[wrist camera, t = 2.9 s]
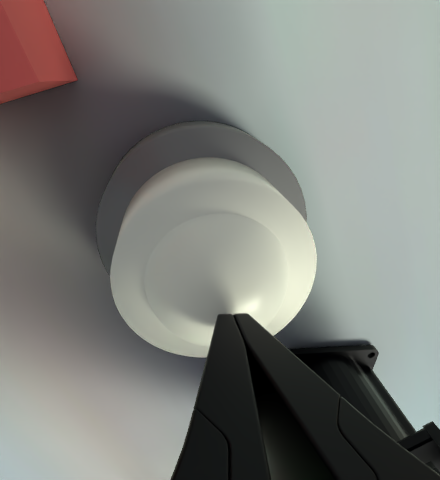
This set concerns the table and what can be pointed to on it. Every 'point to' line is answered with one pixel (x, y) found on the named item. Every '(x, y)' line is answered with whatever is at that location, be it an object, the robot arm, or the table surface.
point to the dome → (209, 254)
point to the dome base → (177, 150)
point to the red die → (30, 51)
